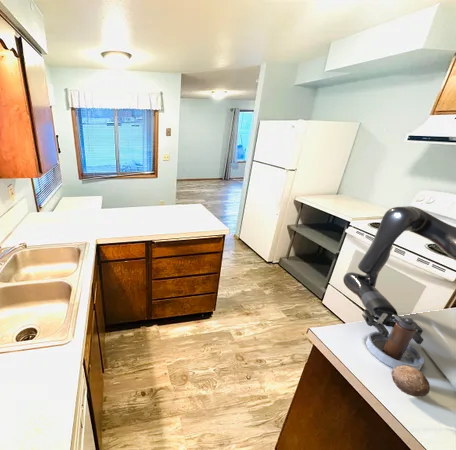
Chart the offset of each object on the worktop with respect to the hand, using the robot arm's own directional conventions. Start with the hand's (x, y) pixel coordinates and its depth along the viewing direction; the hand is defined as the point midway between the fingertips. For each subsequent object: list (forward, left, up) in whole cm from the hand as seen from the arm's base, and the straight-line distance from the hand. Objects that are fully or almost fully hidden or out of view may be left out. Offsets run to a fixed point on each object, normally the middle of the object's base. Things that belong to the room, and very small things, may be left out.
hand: (403, 338), depth 75 cm
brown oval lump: (+2, +11, -9) cm, 14 cm away
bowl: (0, -1, -9) cm, 9 cm away
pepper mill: (0, -1, -8) cm, 8 cm away
